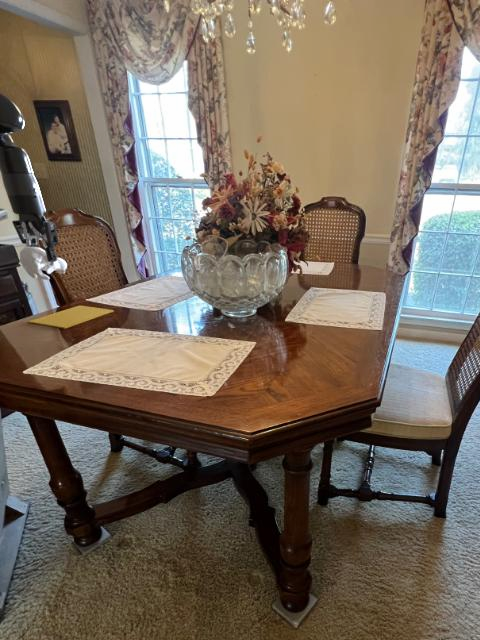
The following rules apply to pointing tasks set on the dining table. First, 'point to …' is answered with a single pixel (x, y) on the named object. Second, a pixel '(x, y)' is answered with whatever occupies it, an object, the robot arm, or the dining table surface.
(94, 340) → the dining table surface
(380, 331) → the dining table surface
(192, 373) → the dining table surface
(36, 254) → the white animal figurine
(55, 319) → the cloth
